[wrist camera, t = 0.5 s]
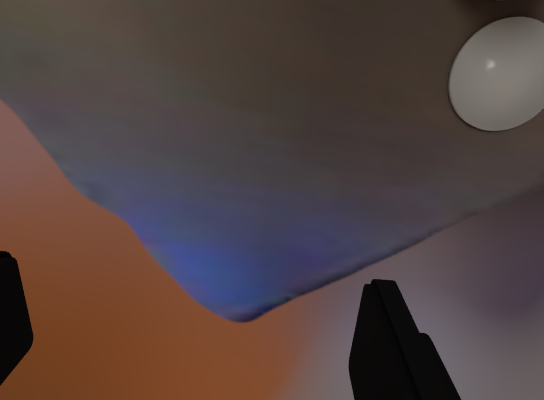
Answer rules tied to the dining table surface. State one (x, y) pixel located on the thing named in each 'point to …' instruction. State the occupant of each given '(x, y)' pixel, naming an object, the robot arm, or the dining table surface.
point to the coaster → (499, 74)
